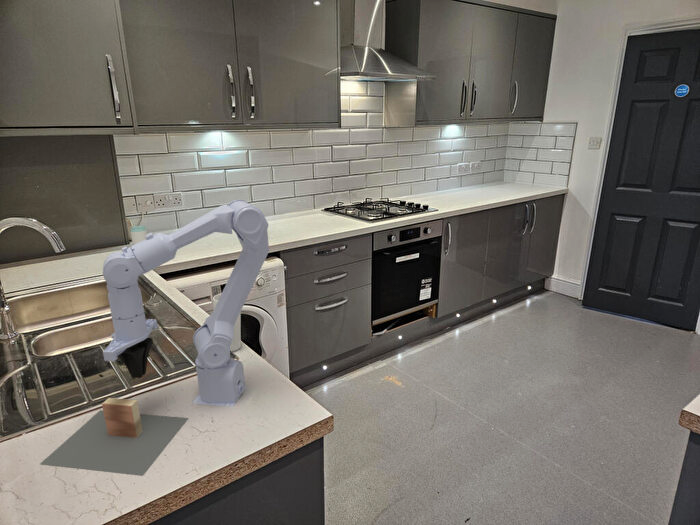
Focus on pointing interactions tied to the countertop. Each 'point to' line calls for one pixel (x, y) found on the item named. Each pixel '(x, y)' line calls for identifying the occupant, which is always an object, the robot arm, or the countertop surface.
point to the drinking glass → (237, 328)
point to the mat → (116, 446)
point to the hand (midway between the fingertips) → (138, 375)
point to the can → (138, 234)
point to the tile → (122, 417)
